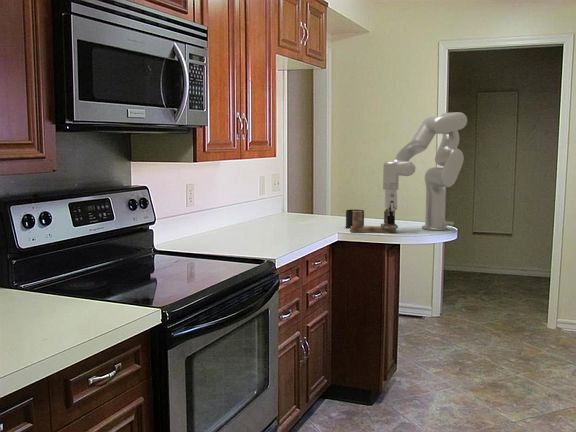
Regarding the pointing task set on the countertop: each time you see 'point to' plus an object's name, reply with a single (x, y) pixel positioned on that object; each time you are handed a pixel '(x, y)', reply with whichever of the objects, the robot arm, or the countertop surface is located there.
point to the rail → (359, 228)
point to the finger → (387, 218)
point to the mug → (351, 217)
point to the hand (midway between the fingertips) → (389, 222)
